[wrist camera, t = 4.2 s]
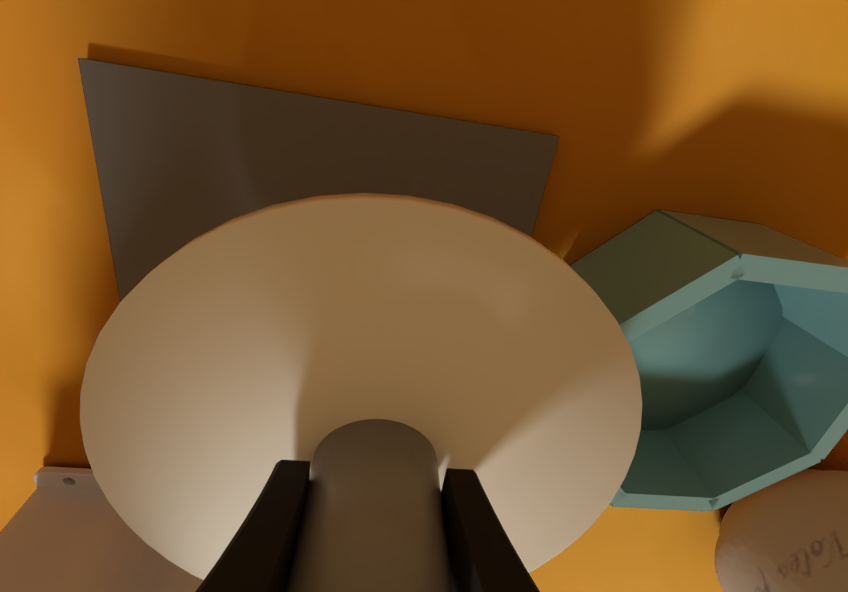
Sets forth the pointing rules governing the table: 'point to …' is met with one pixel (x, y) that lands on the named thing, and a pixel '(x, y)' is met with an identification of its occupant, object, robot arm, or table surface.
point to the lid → (360, 389)
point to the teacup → (787, 536)
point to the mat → (280, 158)
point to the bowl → (725, 354)
